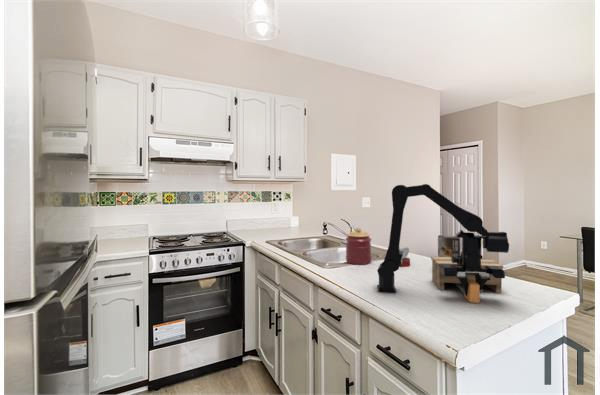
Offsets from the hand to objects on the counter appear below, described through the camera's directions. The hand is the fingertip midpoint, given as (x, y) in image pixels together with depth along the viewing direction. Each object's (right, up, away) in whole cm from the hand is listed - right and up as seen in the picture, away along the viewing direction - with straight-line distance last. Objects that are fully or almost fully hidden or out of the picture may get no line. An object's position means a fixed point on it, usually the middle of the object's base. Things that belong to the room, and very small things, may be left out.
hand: (471, 295), depth 103 cm
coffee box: (+8, 0, +33) cm, 34 cm away
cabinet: (+5, -1, +13) cm, 14 cm away
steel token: (+8, -1, +10) cm, 13 cm away
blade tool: (+4, -1, +6) cm, 7 cm away
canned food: (-9, 0, +46) cm, 47 cm away
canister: (-29, 0, +52) cm, 59 cm away
